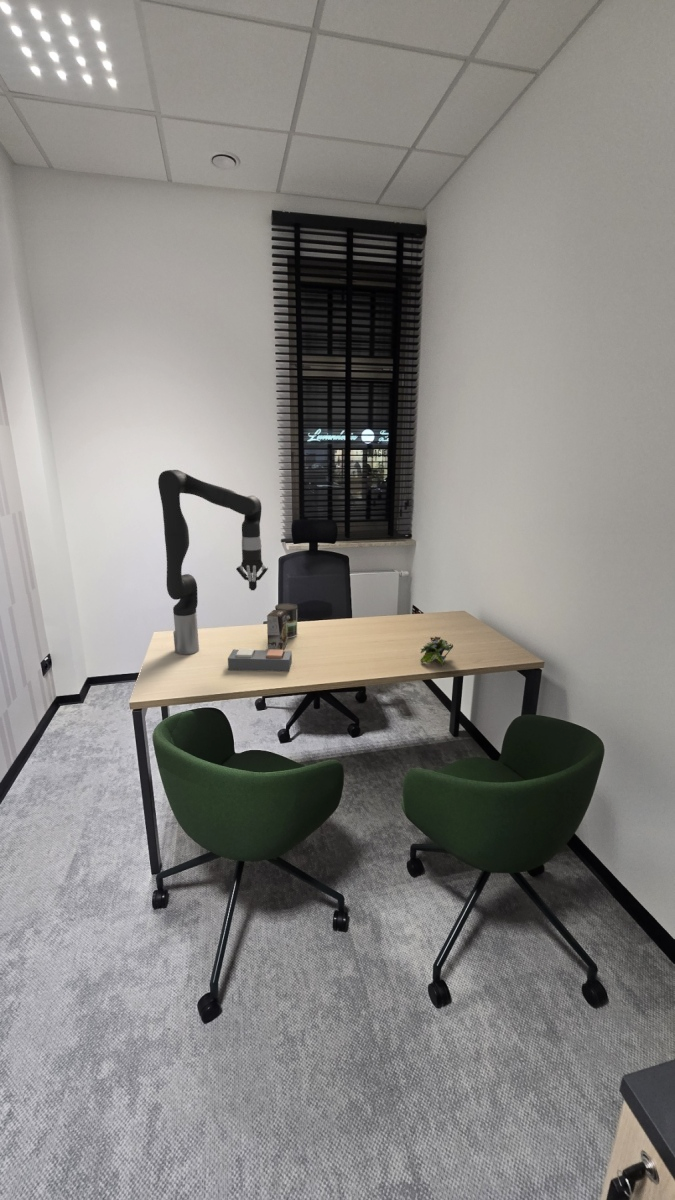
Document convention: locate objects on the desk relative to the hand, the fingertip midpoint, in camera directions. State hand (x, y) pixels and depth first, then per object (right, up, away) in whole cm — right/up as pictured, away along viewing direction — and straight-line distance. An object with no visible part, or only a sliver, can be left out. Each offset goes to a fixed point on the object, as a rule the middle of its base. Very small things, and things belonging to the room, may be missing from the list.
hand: (253, 589), depth 195 cm
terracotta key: (+9, -28, -2) cm, 29 cm away
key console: (+3, -31, -1) cm, 31 cm away
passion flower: (+75, -30, +5) cm, 81 cm away
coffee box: (+8, -25, +18) cm, 32 cm away
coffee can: (+10, -21, +33) cm, 40 cm away
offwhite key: (-3, -28, -2) cm, 28 cm away
